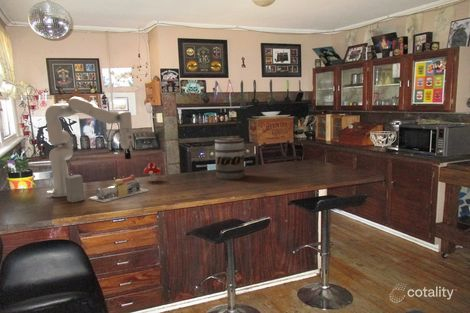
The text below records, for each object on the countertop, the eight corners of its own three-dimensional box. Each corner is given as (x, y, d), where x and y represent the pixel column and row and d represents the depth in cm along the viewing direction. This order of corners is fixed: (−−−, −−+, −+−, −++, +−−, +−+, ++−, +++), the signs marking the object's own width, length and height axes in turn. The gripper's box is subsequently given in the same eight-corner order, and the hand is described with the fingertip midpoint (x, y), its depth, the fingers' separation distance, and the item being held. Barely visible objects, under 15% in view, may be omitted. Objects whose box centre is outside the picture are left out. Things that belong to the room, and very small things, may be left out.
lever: (119, 184, 231) (119, 179, 231) (114, 184, 233) (113, 179, 232) (136, 179, 246) (136, 174, 246) (131, 179, 248) (131, 174, 248)
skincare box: (79, 198, 228) (77, 174, 226) (85, 200, 224) (83, 175, 221) (66, 201, 222) (64, 176, 219) (72, 203, 217) (69, 177, 215)
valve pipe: (103, 202, 217) (103, 191, 216) (89, 199, 226) (88, 188, 225) (148, 191, 244) (147, 180, 243) (133, 188, 253) (133, 178, 252)
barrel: (223, 181, 269) (222, 141, 265) (211, 176, 289) (210, 139, 285) (249, 177, 280) (249, 139, 275) (236, 173, 299) (235, 137, 295)
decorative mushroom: (159, 183, 268) (158, 163, 266) (141, 183, 269) (139, 163, 267) (163, 179, 282) (162, 160, 280) (146, 179, 283) (144, 161, 281)
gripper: (136, 130, 229) (138, 159, 232) (126, 130, 240) (128, 157, 243) (125, 131, 224) (128, 160, 227) (115, 130, 235) (117, 158, 238)
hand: (128, 158), depth 235 cm, fingers closed
